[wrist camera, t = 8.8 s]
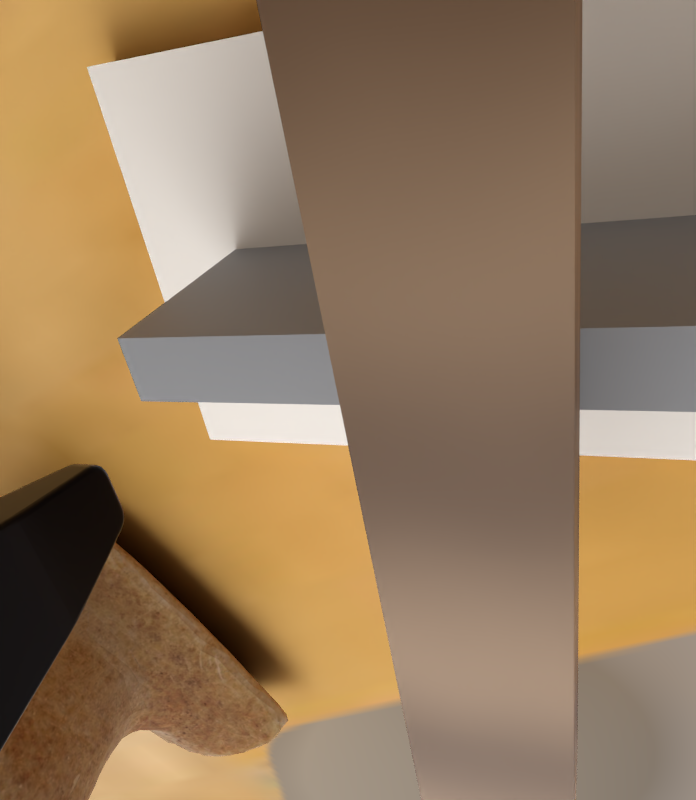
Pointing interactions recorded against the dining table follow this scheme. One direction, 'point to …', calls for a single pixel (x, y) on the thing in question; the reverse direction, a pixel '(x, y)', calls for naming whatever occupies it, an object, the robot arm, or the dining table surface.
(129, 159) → the ridge
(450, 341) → the walnut bar
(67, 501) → the robot arm
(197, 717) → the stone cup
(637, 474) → the dining table surface
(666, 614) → the dining table surface
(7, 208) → the dining table surface
